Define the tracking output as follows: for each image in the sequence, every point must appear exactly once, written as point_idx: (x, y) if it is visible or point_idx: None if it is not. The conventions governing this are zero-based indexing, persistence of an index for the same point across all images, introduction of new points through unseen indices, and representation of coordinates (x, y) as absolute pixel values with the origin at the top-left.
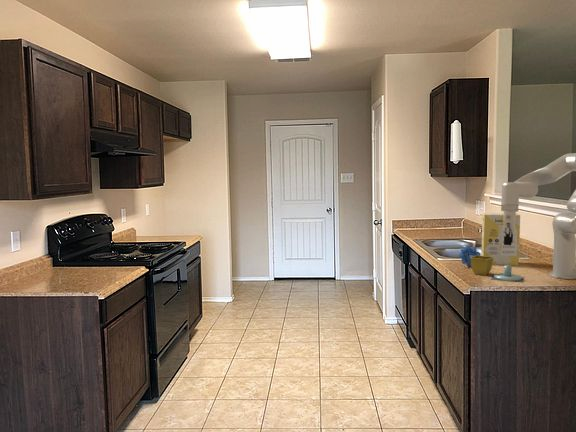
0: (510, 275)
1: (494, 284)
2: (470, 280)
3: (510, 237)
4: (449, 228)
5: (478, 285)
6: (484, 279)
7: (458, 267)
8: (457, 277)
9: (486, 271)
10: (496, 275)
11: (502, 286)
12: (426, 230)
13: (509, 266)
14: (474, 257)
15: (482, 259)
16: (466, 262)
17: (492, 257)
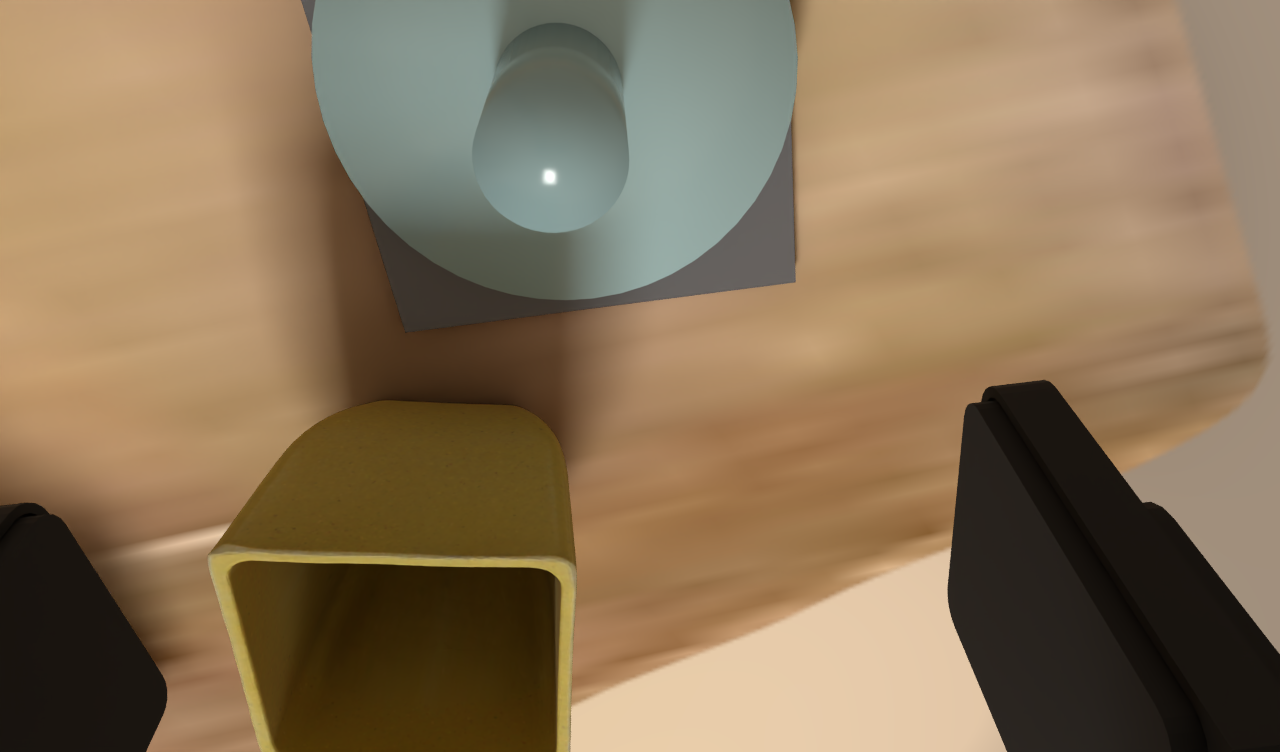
0: (590, 37)
1: (1044, 169)
2: (902, 473)
3: (1271, 740)
4: None
5: (1179, 332)
6: (753, 358)
7: (212, 733)
8: (796, 610)
9: (549, 429)
10: (631, 258)
11: (1156, 29)
12: None
13: (614, 117)
14: (392, 743)
15: (573, 626)
16: None
17: (267, 553)
